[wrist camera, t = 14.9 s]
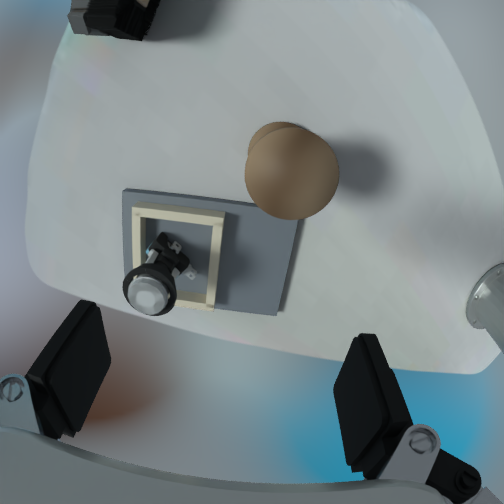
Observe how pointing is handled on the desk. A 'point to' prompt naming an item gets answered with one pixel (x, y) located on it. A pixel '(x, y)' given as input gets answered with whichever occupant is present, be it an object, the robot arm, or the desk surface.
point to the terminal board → (213, 248)
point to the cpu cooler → (112, 17)
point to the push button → (157, 278)
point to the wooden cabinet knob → (290, 171)
